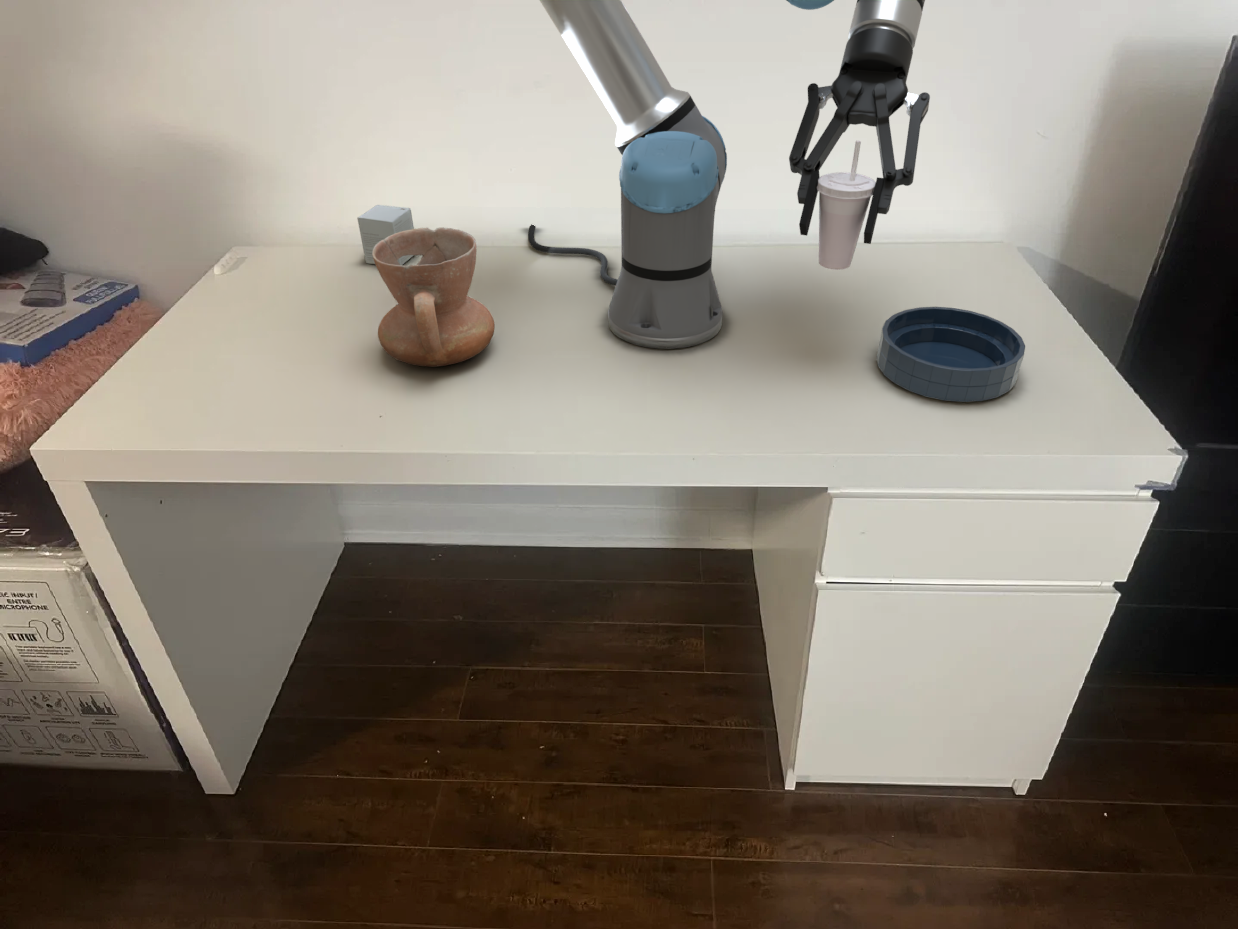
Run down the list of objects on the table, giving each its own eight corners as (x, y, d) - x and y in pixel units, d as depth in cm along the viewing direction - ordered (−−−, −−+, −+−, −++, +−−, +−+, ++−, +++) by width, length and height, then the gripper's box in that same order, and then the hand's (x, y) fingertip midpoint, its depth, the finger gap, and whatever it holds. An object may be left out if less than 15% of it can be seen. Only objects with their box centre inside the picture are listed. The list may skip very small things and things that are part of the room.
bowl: (851, 351, 110) (856, 319, 108) (956, 329, 115) (964, 298, 112) (930, 416, 98) (938, 381, 95) (1045, 389, 103) (1056, 355, 100)
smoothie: (863, 276, 99) (884, 151, 91) (806, 271, 100) (822, 148, 92) (861, 254, 104) (882, 134, 96) (807, 250, 105) (823, 131, 97)
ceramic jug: (393, 322, 118) (374, 220, 110) (500, 318, 119) (489, 217, 110) (370, 391, 104) (347, 280, 95) (492, 386, 104) (480, 275, 96)
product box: (384, 248, 139) (376, 203, 135) (419, 252, 137) (412, 207, 133) (364, 263, 134) (355, 217, 130) (400, 268, 133) (392, 221, 128)
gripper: (965, 72, 100) (922, 259, 97) (797, 59, 106) (753, 236, 103) (973, 29, 93) (927, 230, 90) (793, 18, 99) (746, 207, 96)
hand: (835, 233), depth 97 cm, fingers closed on smoothie, 6 cm apart
